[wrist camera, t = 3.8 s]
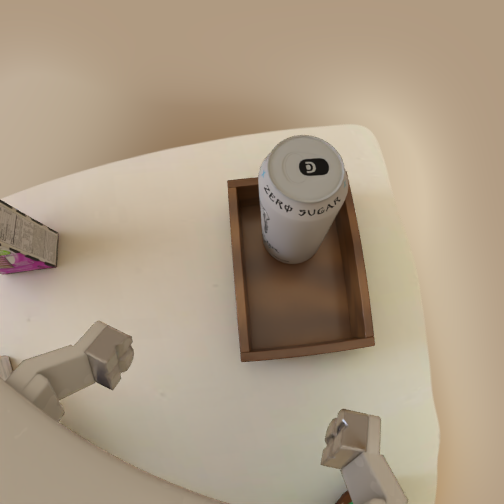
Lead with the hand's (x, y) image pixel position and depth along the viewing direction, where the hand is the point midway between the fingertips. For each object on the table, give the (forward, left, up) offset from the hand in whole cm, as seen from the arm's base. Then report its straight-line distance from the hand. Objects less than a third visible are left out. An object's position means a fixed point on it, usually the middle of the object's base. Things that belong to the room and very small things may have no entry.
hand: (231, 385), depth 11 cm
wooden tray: (+8, -5, -21) cm, 23 cm away
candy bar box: (+13, +29, -21) cm, 38 cm away
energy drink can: (+11, -5, -21) cm, 24 cm away
